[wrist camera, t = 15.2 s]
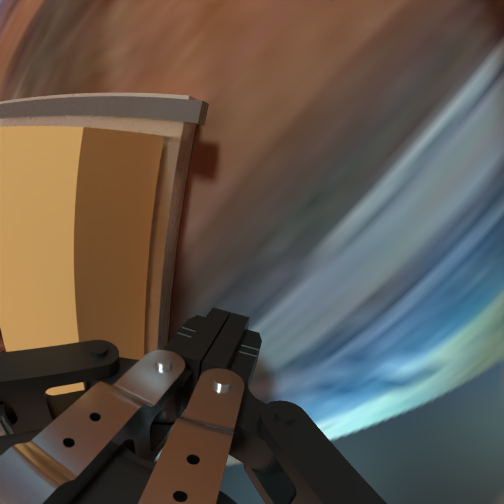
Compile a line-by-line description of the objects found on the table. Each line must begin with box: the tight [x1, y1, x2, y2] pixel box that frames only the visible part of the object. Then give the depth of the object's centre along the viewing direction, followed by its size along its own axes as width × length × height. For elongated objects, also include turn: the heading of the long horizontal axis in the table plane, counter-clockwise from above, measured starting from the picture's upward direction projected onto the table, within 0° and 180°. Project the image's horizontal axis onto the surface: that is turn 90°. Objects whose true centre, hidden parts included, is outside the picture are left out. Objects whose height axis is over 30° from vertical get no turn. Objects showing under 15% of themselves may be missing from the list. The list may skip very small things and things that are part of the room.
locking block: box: [0, 126, 164, 395], centre depth 13 cm, size 6×14×6 cm, turn 169°
